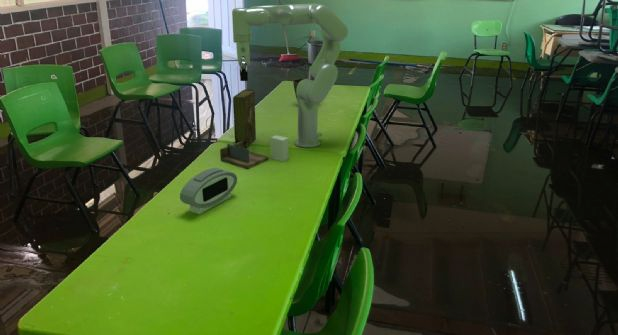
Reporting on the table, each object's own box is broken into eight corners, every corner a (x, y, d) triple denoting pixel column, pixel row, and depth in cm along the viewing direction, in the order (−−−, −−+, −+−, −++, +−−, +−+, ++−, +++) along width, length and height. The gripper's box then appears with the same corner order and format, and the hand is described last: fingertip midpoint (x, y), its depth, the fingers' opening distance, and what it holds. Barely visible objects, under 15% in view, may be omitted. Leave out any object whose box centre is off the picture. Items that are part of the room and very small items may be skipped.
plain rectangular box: (276, 155, 219) (276, 135, 215) (288, 159, 215) (288, 138, 212) (270, 158, 216) (270, 137, 212) (282, 161, 212) (282, 140, 209)
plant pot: (316, 109, 293) (317, 83, 287) (292, 109, 293) (292, 83, 287) (316, 103, 307) (317, 78, 301) (293, 103, 307) (293, 78, 301)
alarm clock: (194, 218, 163) (191, 184, 158) (181, 214, 166) (178, 180, 161) (238, 194, 181) (236, 162, 176) (226, 190, 184) (224, 159, 179)
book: (246, 137, 242) (244, 89, 233) (256, 138, 241) (255, 89, 232) (235, 148, 227) (232, 97, 218) (246, 149, 226) (244, 97, 217)
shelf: (242, 152, 223) (241, 136, 220) (268, 159, 214) (268, 144, 212) (220, 160, 213) (219, 144, 210) (247, 169, 204) (246, 152, 201)
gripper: (251, 41, 196) (253, 82, 203) (250, 36, 212) (251, 74, 219) (233, 41, 195) (235, 82, 202) (233, 36, 211) (234, 74, 218)
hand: (243, 78), depth 210 cm, fingers open, 9 cm apart
